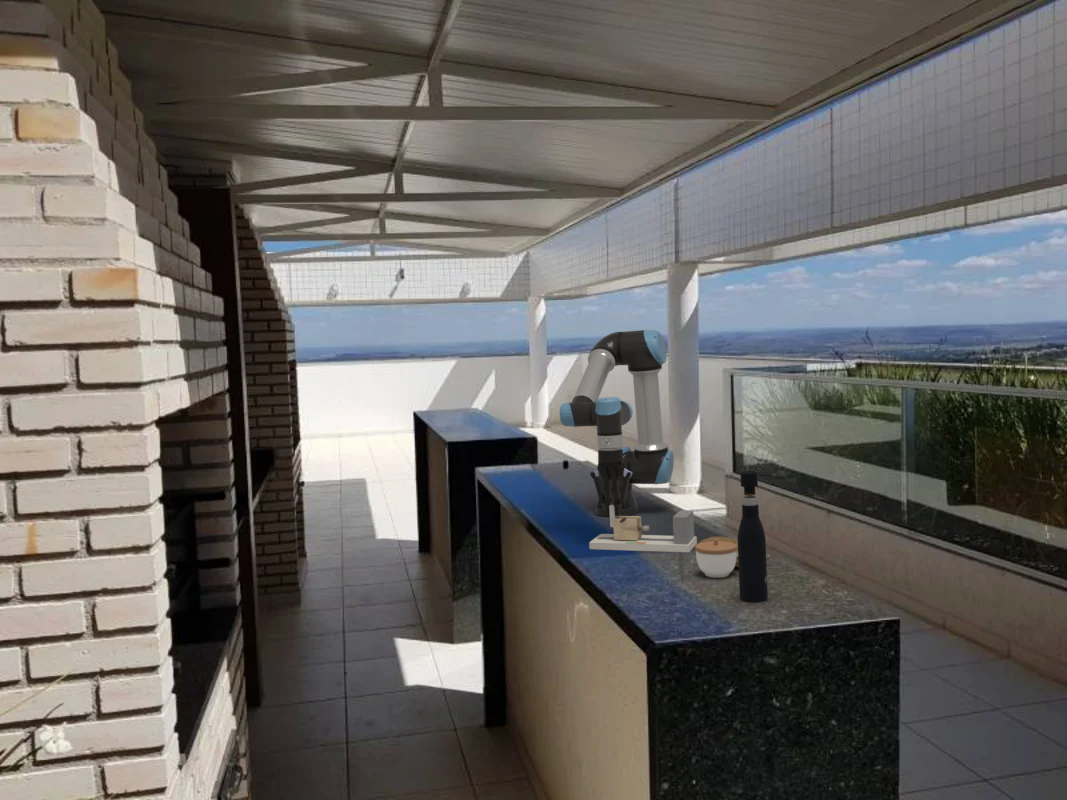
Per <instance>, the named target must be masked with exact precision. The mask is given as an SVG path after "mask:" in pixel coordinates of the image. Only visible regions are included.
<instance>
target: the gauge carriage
mask: <svg viewBox="0 0 1067 800" xmlns="http://www.w3.org/2000/svg"><path fill="white" fill-rule="evenodd" d="M612 528H613V534H614V540H638V539H639V538H640V537H641V536H642V535H643V533H642V532H649V531H650V525H642V516H639V515H638V516H637V515H628V516H618V517H616V518H615V519H614V520H613V527H612Z"/></svg>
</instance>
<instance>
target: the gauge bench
mask: <svg viewBox="0 0 1067 800" xmlns="http://www.w3.org/2000/svg"><path fill="white" fill-rule="evenodd" d="M694 522H695V521H694V510H679V511H678V512H677V513H675V514H674V516H672V527H673V528H672V529H673V535H659V534H658V535H657V534H656V535H655V534H642V536H641V537H640V538H639V539H638V540H614V533H612V534H611V533H599V534H598V535H597V536H596V537H595V538H593V539H592V540H590V542H589V543H588V544H589V545H588V546H589V548H588V549H589V550H605V551H609V550H610V551H631V552H632V551H635V552H637V551H638V552H662V553H663V552H667V553H669V552H670V553H690V552H691V551H692V549H693V548H695V545H696V544H698V538H697V536H696V535H695V523H694Z"/></svg>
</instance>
